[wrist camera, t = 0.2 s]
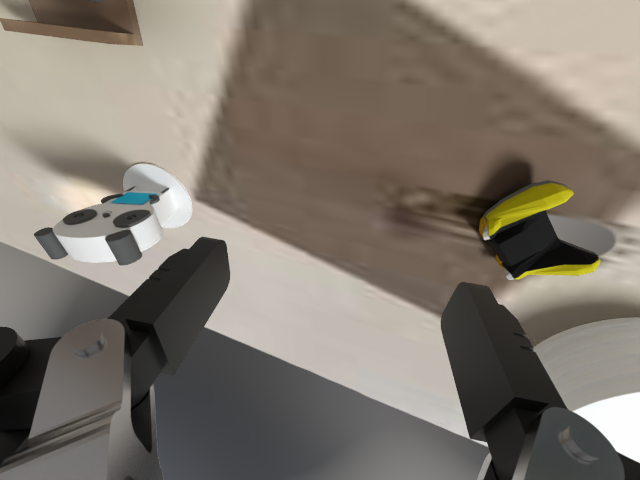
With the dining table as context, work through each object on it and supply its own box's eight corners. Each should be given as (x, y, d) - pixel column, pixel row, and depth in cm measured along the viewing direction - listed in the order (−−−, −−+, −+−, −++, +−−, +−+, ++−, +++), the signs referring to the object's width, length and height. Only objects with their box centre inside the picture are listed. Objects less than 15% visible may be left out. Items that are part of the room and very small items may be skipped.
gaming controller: (545, 163, 33) (463, 206, 37) (573, 180, 28) (476, 226, 33) (580, 247, 38) (505, 275, 43) (609, 272, 34) (521, 301, 38)
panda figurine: (184, 164, 40) (102, 212, 28) (203, 229, 46) (144, 291, 34) (112, 161, 41) (4, 205, 29) (140, 225, 48) (62, 282, 36)
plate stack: (579, 417, 61) (617, 482, 51) (486, 367, 56) (509, 430, 47) (747, 365, 45) (846, 445, 36) (639, 290, 41) (721, 360, 31)
